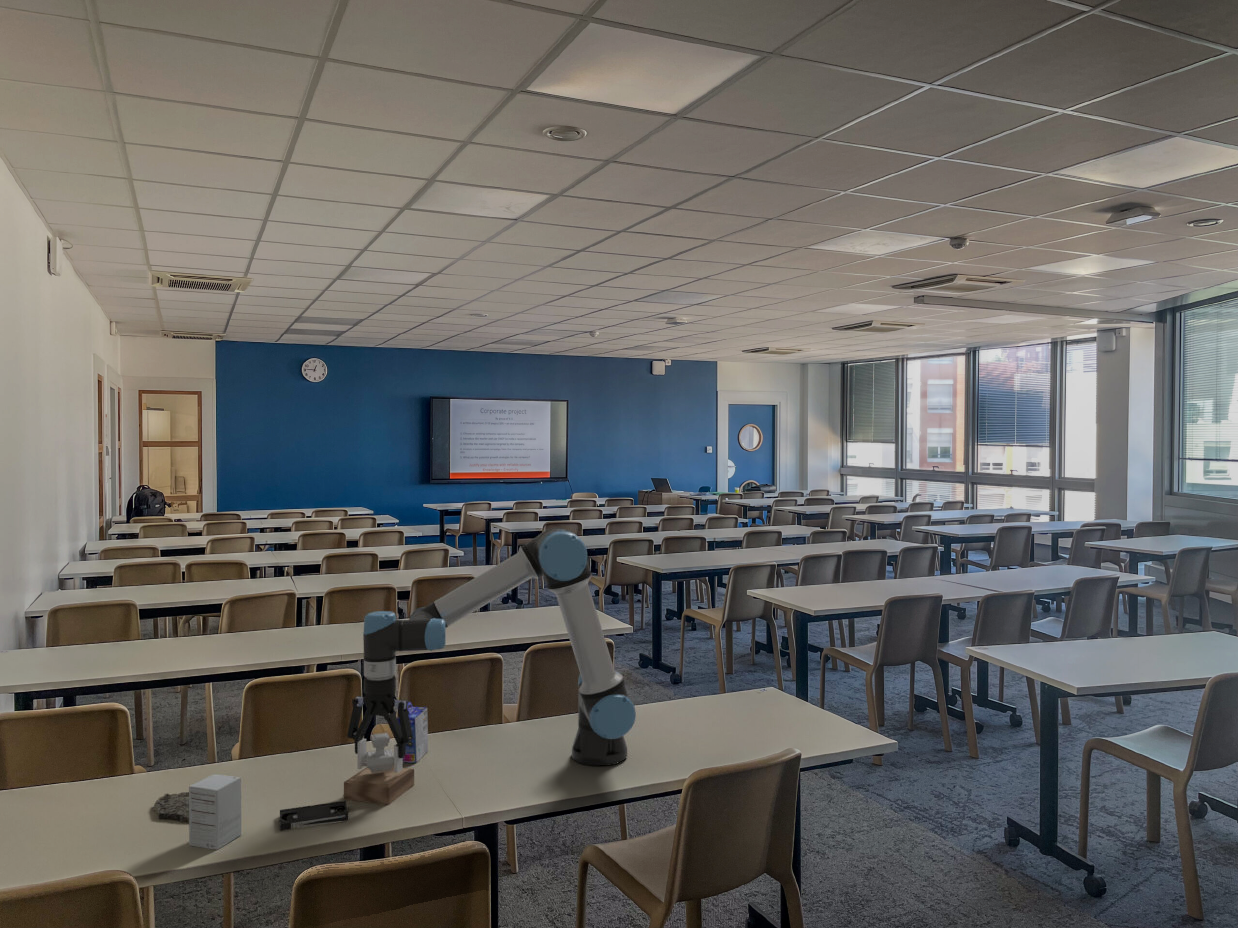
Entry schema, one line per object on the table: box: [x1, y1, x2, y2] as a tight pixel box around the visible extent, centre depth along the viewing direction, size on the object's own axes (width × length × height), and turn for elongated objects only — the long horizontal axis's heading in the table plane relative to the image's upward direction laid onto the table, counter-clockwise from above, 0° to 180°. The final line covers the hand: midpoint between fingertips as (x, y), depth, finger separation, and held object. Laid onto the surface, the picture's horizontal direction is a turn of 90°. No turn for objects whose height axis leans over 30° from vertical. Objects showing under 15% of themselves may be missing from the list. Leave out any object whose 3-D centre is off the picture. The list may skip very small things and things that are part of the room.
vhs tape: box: [279, 800, 349, 832], centre depth 188 cm, size 14×8×2 cm, turn 112°
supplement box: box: [188, 773, 242, 851], centre depth 177 cm, size 7×7×13 cm
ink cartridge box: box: [397, 701, 429, 764], centre depth 228 cm, size 10×6×14 cm, turn 174°
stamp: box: [361, 732, 394, 773], centre depth 203 cm, size 9×7×8 cm
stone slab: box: [152, 791, 189, 824], centre depth 193 cm, size 12×17×3 cm
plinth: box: [343, 766, 415, 805], centre depth 203 cm, size 12×12×4 cm
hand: (380, 768), depth 203 cm, fingers closed on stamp, 9 cm apart
